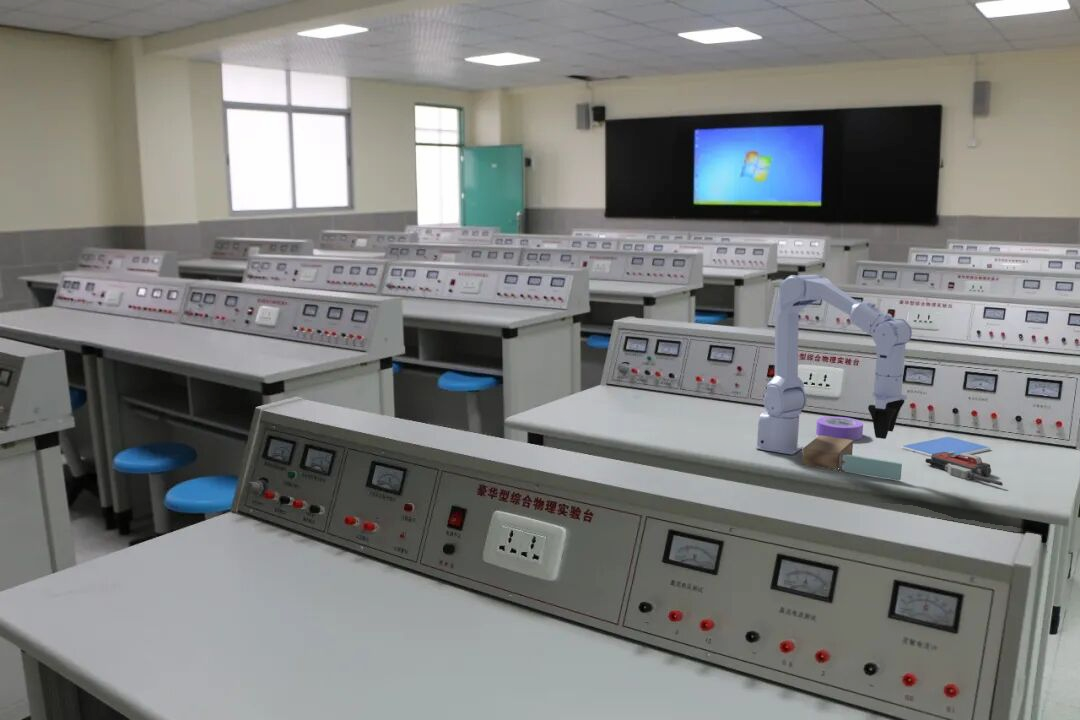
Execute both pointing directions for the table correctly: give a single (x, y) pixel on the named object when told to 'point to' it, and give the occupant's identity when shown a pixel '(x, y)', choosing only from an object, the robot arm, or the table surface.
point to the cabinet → (827, 452)
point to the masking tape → (839, 427)
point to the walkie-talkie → (962, 466)
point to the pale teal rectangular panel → (872, 467)
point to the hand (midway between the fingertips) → (884, 434)
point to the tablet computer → (945, 447)
